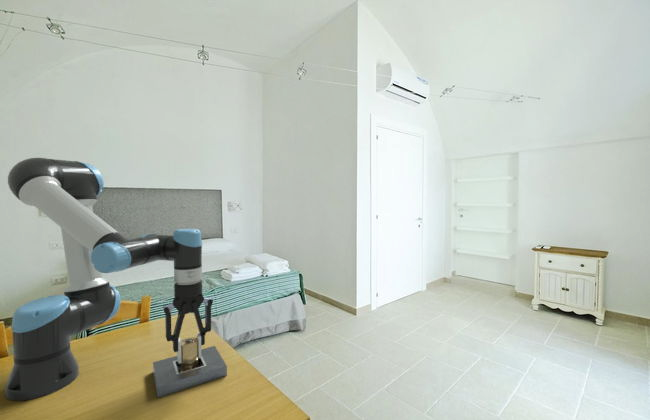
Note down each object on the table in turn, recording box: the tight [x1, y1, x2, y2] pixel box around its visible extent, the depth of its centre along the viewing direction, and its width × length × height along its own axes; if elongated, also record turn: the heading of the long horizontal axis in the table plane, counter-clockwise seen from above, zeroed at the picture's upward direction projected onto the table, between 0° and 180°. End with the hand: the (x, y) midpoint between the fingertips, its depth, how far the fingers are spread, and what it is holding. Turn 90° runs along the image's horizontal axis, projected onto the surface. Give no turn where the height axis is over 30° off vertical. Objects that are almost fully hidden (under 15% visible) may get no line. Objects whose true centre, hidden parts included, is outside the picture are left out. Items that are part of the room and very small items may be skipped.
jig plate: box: [152, 345, 228, 399], centre depth 90 cm, size 14×18×3 cm
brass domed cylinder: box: [180, 336, 199, 372], centre depth 90 cm, size 5×5×9 cm
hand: (189, 358), depth 90 cm, fingers closed on brass domed cylinder, 5 cm apart
